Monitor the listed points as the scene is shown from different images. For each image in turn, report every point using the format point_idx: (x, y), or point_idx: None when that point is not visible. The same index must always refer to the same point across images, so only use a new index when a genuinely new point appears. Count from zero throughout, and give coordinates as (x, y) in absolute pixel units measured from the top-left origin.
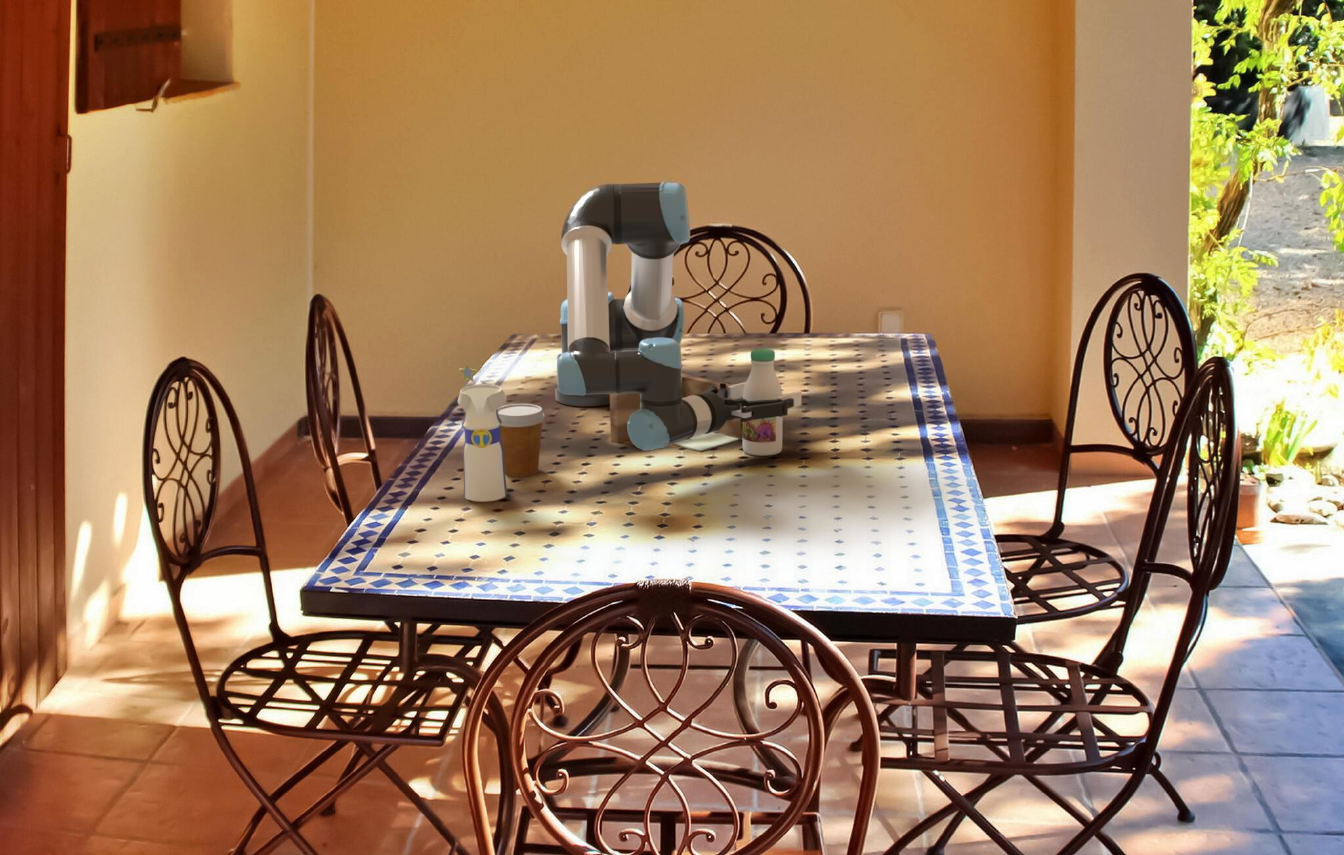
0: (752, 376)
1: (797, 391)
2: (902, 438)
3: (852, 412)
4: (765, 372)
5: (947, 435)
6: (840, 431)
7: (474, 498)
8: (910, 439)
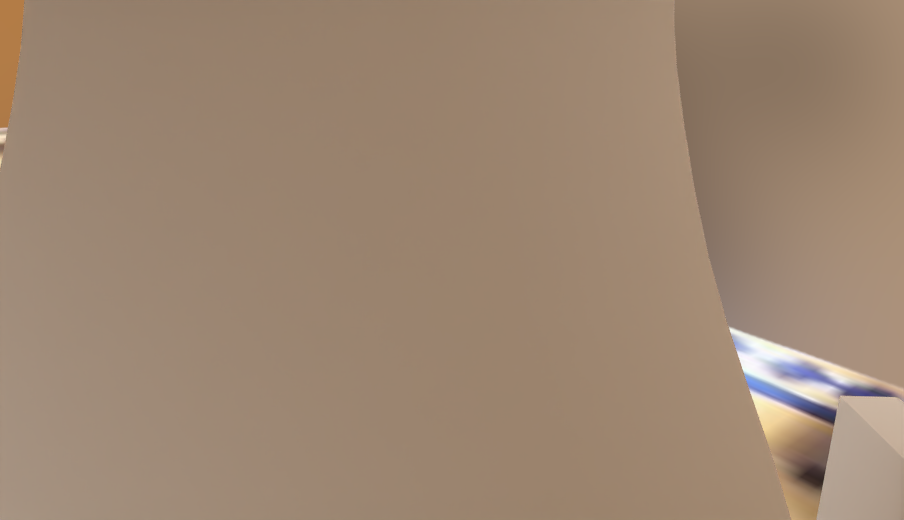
0: (220, 375)
1: (868, 412)
2: (772, 440)
3: None
4: (664, 147)
5: (821, 366)
6: None
7: None
8: (805, 436)
